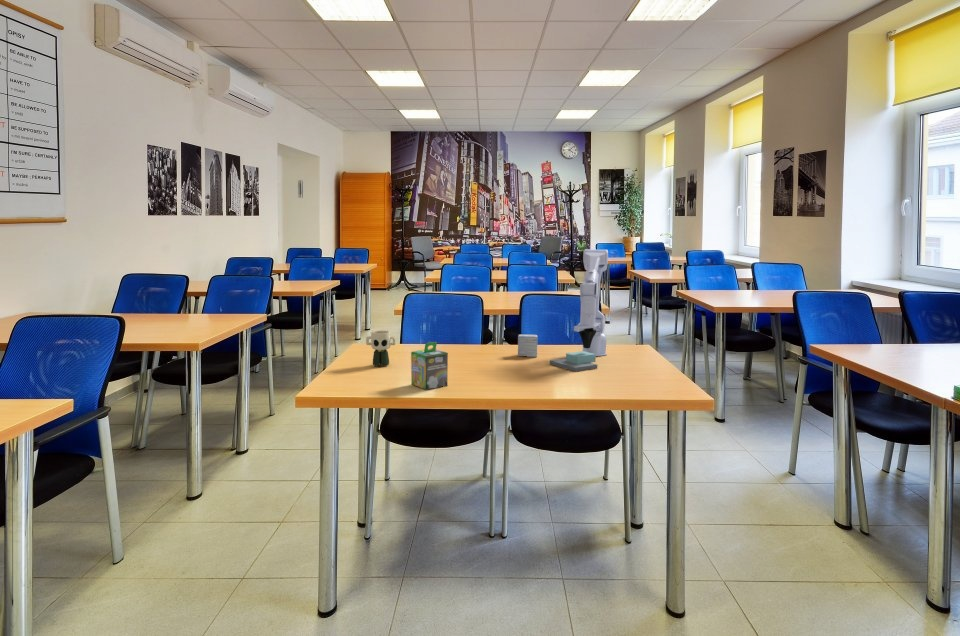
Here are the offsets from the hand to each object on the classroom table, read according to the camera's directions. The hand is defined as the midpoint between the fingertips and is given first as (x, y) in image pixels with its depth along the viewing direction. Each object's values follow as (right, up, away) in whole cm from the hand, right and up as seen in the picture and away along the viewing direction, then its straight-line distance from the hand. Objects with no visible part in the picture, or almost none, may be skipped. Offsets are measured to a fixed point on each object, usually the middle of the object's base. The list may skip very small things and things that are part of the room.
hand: (586, 348), depth 248 cm
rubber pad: (-6, -7, -3) cm, 9 cm away
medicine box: (-22, -4, +15) cm, 27 cm away
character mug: (-79, -7, -7) cm, 79 cm away
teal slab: (+1, -3, +1) cm, 4 cm away
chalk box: (-58, -11, -35) cm, 69 cm away
